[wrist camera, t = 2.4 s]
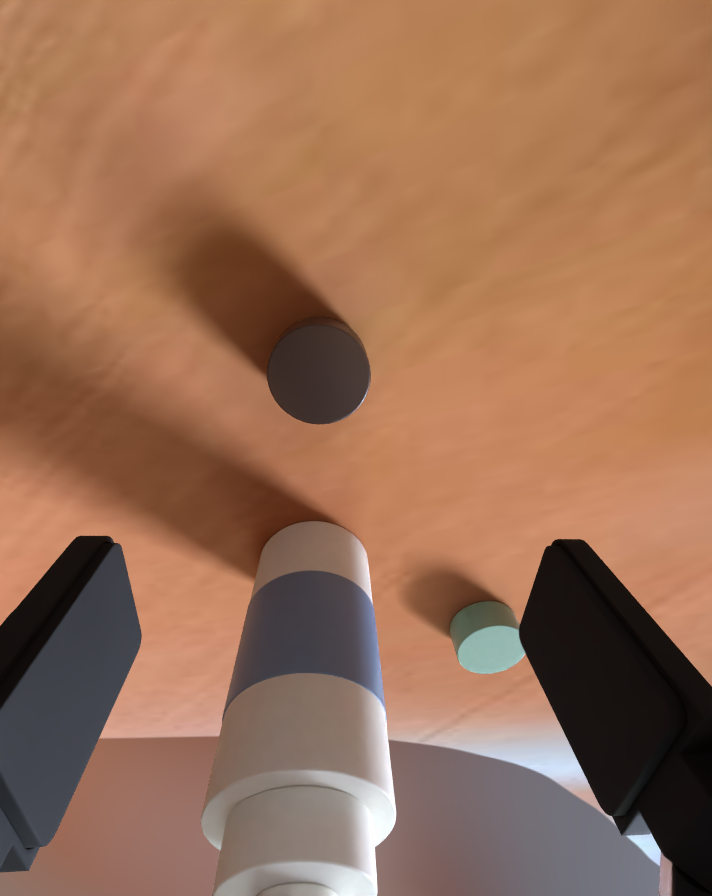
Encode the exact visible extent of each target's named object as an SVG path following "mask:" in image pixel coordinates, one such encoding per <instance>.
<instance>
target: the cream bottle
mask: <svg viewBox="0 0 712 896" xmlns="http://www.w3.org/2000/svg"><path fill="white" fill-rule="evenodd" d="M386 720H387V717H386V709H385V700H384V691H383V683H382V674H381V665H380V656H379V648H378V639H377V630H376V621H375V613H374V608H373V603H372V594H371V585H370V576H369V567H368V558H367V554H366V551H365V549H364V547H363V545H362V543H361V542H360V541H359V540H358V538H357V537H356V536H355V535H353V534H352V533H351V532H349V531H348V530H346V529H345V528H342V527H340V526H338V525H335V524H332V523H328V522H321V521H307V522H300V523H296V524H293V525H290V526H287V527H285V528H283V529H282V530H280V531H278V532H277V533H276V534H275V535H273V536H272V537H271V538H270V539H269V540H268V542H267V543H266V545H265V546H264V548H263V550H262V553H261V557H260V561H259V565H258V570H257V574H256V578H255V583H254V587H253V591H252V596H251V600H250V604H249V606H248V610H247V614H246V618H245V622H244V627H243V631H242V635H241V640H240V644H239V648H238V653H237V657H236V661H235V666H234V670H233V674H232V679H231V683H230V687H229V692H228V696H227V700H226V705H225V709H224V713H223V718H222V727H221V732H220V736H219V741H218V745H217V749H216V754H215V758H214V762H213V767H212V772H211V775H210V780H209V784H208V789H207V793H206V797H205V802H204V807H203V811H202V815H201V826H202V830H203V833H204V835H205V836H206V838H207V839H208V840H209V841H210V843H211V844H212V845H213V846H215V847H216V848H217V849H218V850H220V856H219V861H218V868H217V872H216V878H215V883H214V889H213V894H212V896H377V875H376V862H375V846H377V845H378V844H379V843H380V842H382V841H383V840H384V839H385V838H386V837H387V836H388V835H389V833H390V832H391V830H392V829H393V826H394V823H395V820H396V807H395V799H394V790H393V781H392V772H391V763H390V754H389V745H388V736H387V727H386Z"/></svg>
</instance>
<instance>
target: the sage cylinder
mask: <svg viewBox="0 0 712 896" xmlns="http://www.w3.org/2000/svg"><path fill="white" fill-rule="evenodd" d="M519 627H520V624H519V622H518V620H517V618H516V616H515V614H514V612H513V611H512V610H511V609H510V608H509V607H508V606H506V605H504V604H502V603H499V602H495V601H483V602H478V603H474V604H471V605H469V606H467V607H465V608H464V609H462V610H461V611H460V612H458V613H457V614H456V615H455V617H454V618H453V620H452V622H451V624H450V635H451V638H452V641H453V645H454V648H455V651H456V655H457V658H458V661H459V662H460V664H461V665H462V666H463V667H464V668H465V669H467V670H469V671H471V672H475V673H480V674H490V673H497V672H500V671H503V670H506V669H508V668H510V667H512V666H513V665H515V664H516V663H518V662H519V661H520V660H521V659H522V657H523V656H524V654H525V651H524V649H523V647H522V645H521V642H520V639H519Z"/></svg>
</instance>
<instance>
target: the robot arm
mask: <svg viewBox="0 0 712 896" xmlns="http://www.w3.org/2000/svg"><path fill="white" fill-rule="evenodd" d="M519 639H520V642H521V645H522V647H523V649H524V651H525V653H526V655H527V657H528V659H529V661H530V664H531V666H532V668H533V670H534V672H535V674H536V676H537V678H538V680H539V682H540V684H541V686H542V688H543V690H544V692H545V694H546V696H547V698H548V700H549V702H550V705H551V707H552V709H553V711H554V713H555V715H556V717H557V719H558V721H559V723H560V725H561V727H562V729H563V731H564V733H565V735H566V737H567V739H568V741H569V744H570V746H571V748H572V750H573V752H574V754H575V756H576V758H577V760H578V762H579V764H580V766H581V768H582V770H583V772H584V774H585V776H586V778H587V780H588V783H589V785H590V787H591V789H592V791H593V793H594V795H595V797H596V799H597V801H598V803H599V805H600V806H601V808H602V809H603V811H604V812H605V813H606V814H608V815H609V816H612V817H613V819H614V821H615V823H616V825H617V827H618V829H619V831H620V833H621V835H622V836H627V835H644V834H650V833H651V834H652V836H653V837H654V839H655V841H656V843H657V845H658V846H659V848H660V850H661V861H660V881H659V896H712V687H711V685H710V684H709V683H708V682H707V681H706V680H705V678H704V677H703V676H702V675H701V674H700V673H699V672H698V670H697V669H696V668H695V667H694V666H693V665H692V663H691V662H690V661H689V660H688V659H687V658H686V657H685V655H684V654H683V653H682V652H681V651H680V650H679V649H678V647H677V646H676V645H675V644H674V643H673V642H672V640H671V639H670V638H669V637H668V636H667V635H666V634H665V632H664V631H663V630H662V629H661V628H660V627H659V625H658V624H657V623H656V622H655V621H654V620H653V619H652V617H651V616H650V615H649V614H648V613H647V612H646V610H645V609H644V608H643V607H642V606H641V605H640V604H639V602H638V601H637V600H636V599H635V598H634V597H633V596H632V594H631V593H630V592H629V591H628V590H627V589H626V587H625V586H624V585H623V584H622V583H621V582H620V581H619V579H618V578H617V577H616V576H615V575H614V574H613V572H612V571H611V570H610V569H609V568H608V567H607V566H606V564H605V563H604V562H603V561H602V560H601V559H600V558H599V556H598V555H597V554H596V553H595V552H594V551H593V549H592V548H591V547H590V546H589V545H588V544H587V543H586V542H585V541H584V540H581V539H557V540H555V541H553V542H552V544H551V546H547V547H546V549H545V551H544V554H543V557H542V560H541V563H540V566H539V569H538V572H537V575H536V578H535V581H534V584H533V587H532V590H531V593H530V596H529V599H528V602H527V605H526V608H525V611H524V614H523V617H522V621H521V624H520V627H519ZM140 644H141V629H140V624H139V620H138V616H137V611H136V607H135V603H134V598H133V594H132V590H131V585H130V581H129V577H128V572H127V568H126V564H125V559H124V555H123V551H122V547H121V545H120V544H118V543H114V542H113V539H112V538H111V537H109V536H79V537H76V538H75V539H74V540H73V541H72V542H71V544H70V545H69V546H68V547H67V548H66V550H65V551H64V552H63V553H62V554H61V555H60V557H59V558H58V559H57V560H56V561H55V563H54V564H53V565H52V566H51V567H50V569H49V570H48V571H47V572H46V573H45V575H44V576H43V577H42V578H41V579H40V581H39V582H38V583H37V584H36V585H35V586H34V588H33V589H32V590H31V591H30V592H29V594H28V595H27V596H26V597H25V598H24V600H23V601H22V602H21V603H20V604H19V606H18V607H17V608H16V609H15V610H14V611H13V612H12V613H11V614H10V615H9V616H8V617H7V619H6V620H5V621H4V622H3V623H2V625H1V626H0V872H15V871H29V869H30V867H31V865H32V863H33V860H34V858H35V856H36V854H37V852H38V850H39V848H40V847H44V846H46V845H47V844H48V843H49V842H50V841H51V840H52V838H53V837H54V835H55V833H56V831H57V829H58V827H59V825H60V822H61V820H62V818H63V816H64V814H65V812H66V809H67V807H68V805H69V803H70V801H71V798H72V796H73V794H74V792H75V790H76V787H77V785H78V783H79V781H80V778H81V776H82V774H83V772H84V770H85V768H86V765H87V763H88V761H89V759H90V756H91V754H92V752H93V750H94V748H95V745H96V743H97V741H98V739H99V737H100V734H101V732H102V730H103V728H104V726H105V723H106V721H107V719H108V717H109V715H110V712H111V710H112V708H113V706H114V704H115V701H116V699H117V697H118V695H119V693H120V690H121V688H122V686H123V684H124V682H125V679H126V677H127V675H128V673H129V671H130V668H131V666H132V664H133V662H134V659H135V657H136V655H137V653H138V650H139V648H140Z"/></svg>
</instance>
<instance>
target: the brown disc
mask: <svg viewBox="0 0 712 896" xmlns="http://www.w3.org/2000/svg"><path fill="white" fill-rule="evenodd" d="M370 379H371V372H370V365H369V361H368V357H367V354H366V351H365V348H364V346H363V344H362V342H361V340H360V338H359V337H358V336H357V334H356V333H355V332H354V331H353V330H352V329H351V328H349V327H348V326H347V325H345V324H344V323H342V322H340V321H338V320H335V319H332V318H328V317H310V318H306V319H303V320H300V321H298V322H296V323H294V324H293V325H291V326H290V327H289V328H287V329H286V330H285V332H284V333H283V334H282V335H281V336H280V338H279V340H278V341H277V343H276V345H275V347H274V349H273V351H272V352H271V355H270V358H269V361H268V366H267V380H268V385H269V388H270V391H271V393H272V395H273V397H274V399H275V400H276V402H277V403H278V405H279V406H280V407H281V408H282V409H283V410H284V411H285V412H286V413H288V414H289V415H291V416H292V417H294V418H296V419H298V420H300V421H303V422H306V423H311V424H329V423H334V422H337V421H340V420H342V419H344V418H346V417H348V416H349V415H350V414H352V413H353V412H354V411H355V410H356V409H357V408H358V407H359V406H360V405H361V404H362V402H363V400H364V399H365V397H366V395H367V392H368V389H369V386H370Z"/></svg>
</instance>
